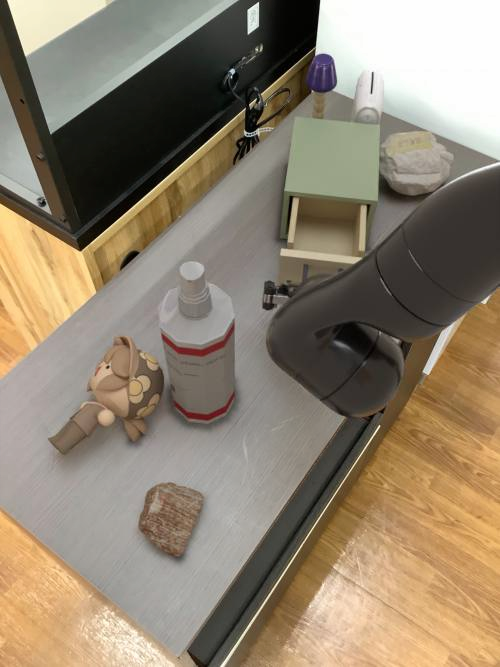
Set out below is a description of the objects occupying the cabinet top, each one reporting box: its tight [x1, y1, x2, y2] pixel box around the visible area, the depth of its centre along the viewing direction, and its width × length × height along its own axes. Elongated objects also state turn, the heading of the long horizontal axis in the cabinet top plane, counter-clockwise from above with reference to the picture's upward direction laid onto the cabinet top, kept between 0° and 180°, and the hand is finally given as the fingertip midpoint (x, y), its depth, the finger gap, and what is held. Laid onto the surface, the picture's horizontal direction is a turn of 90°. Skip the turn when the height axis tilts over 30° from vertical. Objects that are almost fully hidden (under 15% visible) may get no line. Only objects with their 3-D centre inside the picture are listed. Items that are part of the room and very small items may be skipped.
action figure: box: [47, 334, 165, 456], centre depth 72 cm, size 10×11×15 cm
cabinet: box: [279, 115, 381, 248], centre depth 92 cm, size 16×13×10 cm
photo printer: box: [349, 67, 385, 125], centre depth 98 cm, size 10×4×12 cm, turn 171°
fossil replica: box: [379, 130, 455, 196], centre depth 96 cm, size 12×8×10 cm
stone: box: [138, 481, 205, 557], centre depth 68 cm, size 7×6×5 cm
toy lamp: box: [305, 52, 338, 119], centre depth 96 cm, size 5×5×17 cm
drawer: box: [276, 196, 367, 286], centre depth 85 cm, size 19×11×8 cm, turn 172°
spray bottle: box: [157, 260, 236, 425], centre depth 67 cm, size 8×8×25 cm
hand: (321, 292), depth 79 cm, fingers open, 8 cm apart
